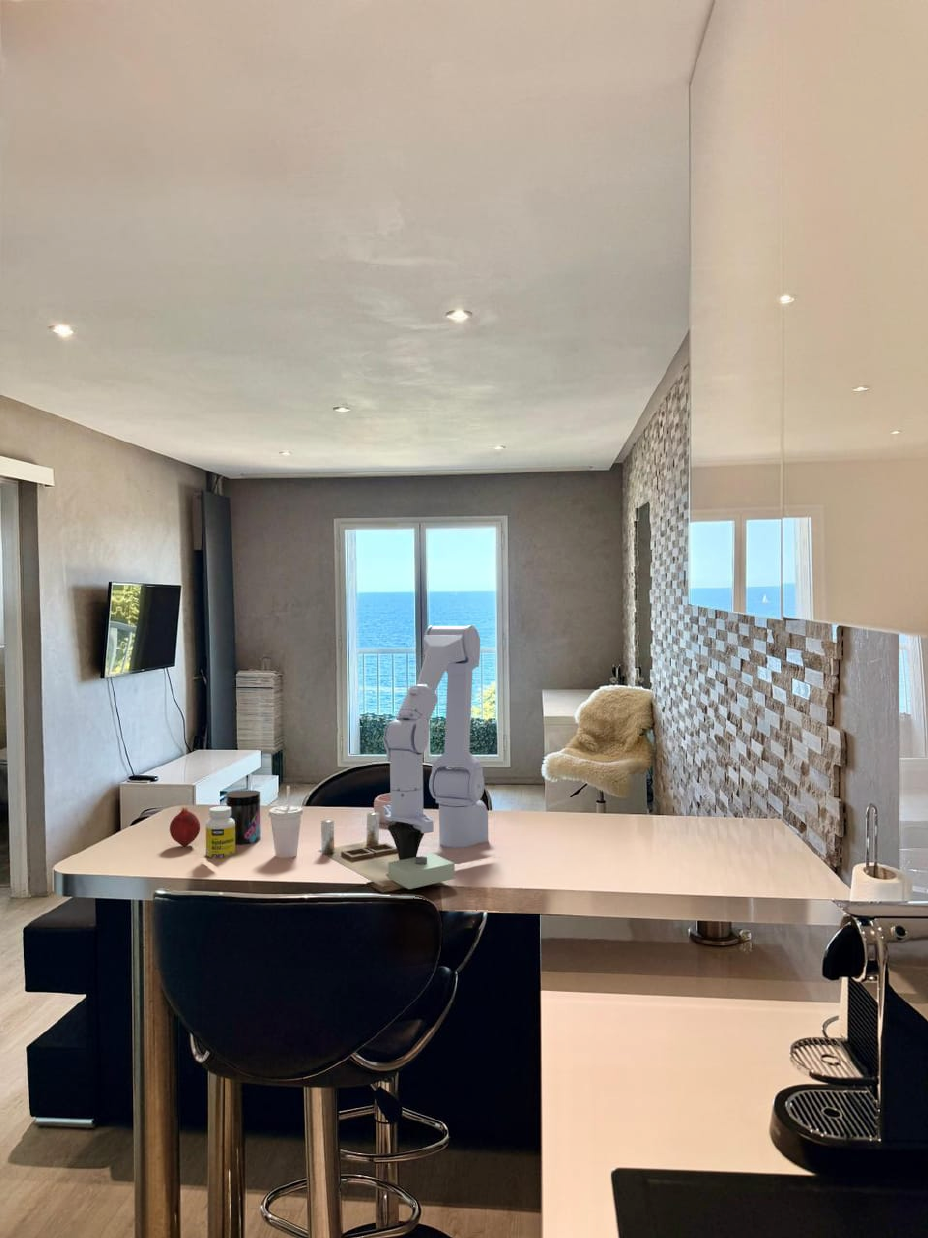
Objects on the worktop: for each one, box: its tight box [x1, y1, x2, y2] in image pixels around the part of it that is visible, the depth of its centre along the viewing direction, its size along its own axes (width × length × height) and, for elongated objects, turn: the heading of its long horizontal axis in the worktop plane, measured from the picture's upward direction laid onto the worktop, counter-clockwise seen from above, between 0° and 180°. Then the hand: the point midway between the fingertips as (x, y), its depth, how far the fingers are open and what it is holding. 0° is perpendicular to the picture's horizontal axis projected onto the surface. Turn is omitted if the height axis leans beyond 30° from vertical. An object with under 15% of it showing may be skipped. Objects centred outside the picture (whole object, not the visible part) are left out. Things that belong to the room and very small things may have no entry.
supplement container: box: [225, 789, 262, 846], centre depth 170 cm, size 7×7×10 cm
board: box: [318, 841, 407, 893], centre depth 154 cm, size 12×26×2 cm, turn 34°
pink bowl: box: [373, 792, 396, 825], centre depth 187 cm, size 12×10×6 cm
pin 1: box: [320, 819, 335, 855], centre depth 160 cm, size 2×2×6 cm
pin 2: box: [365, 812, 380, 846], centre depth 166 cm, size 2×2×6 cm
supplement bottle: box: [205, 805, 236, 863], centre depth 160 cm, size 5×5×10 cm
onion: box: [169, 806, 201, 848], centre depth 169 cm, size 6×6×8 cm
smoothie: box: [268, 785, 304, 859], centre depth 159 cm, size 6×6×14 cm
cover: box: [388, 853, 456, 890], centre depth 143 cm, size 9×7×4 cm
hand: (407, 865), depth 147 cm, fingers closed
